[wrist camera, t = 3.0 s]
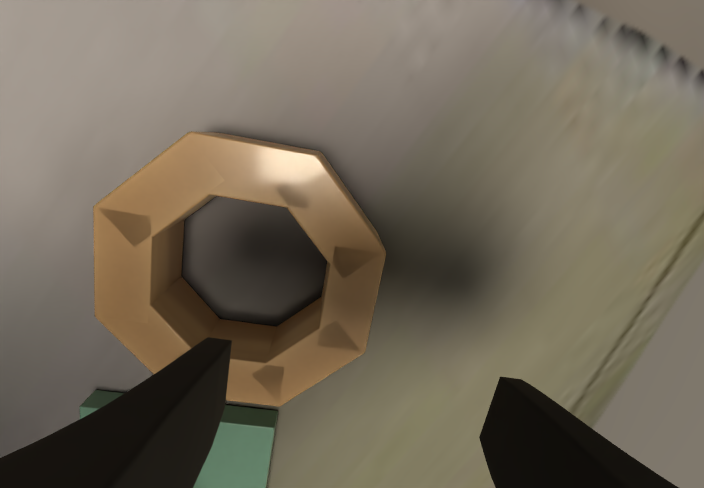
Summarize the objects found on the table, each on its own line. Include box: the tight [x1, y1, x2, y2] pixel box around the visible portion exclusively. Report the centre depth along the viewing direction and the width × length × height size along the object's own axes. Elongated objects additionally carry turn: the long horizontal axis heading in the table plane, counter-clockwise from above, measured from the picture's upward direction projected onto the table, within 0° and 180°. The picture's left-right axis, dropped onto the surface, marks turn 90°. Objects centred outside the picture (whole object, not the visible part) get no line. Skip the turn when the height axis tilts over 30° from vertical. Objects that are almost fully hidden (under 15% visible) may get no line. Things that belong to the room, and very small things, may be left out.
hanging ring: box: [93, 132, 386, 406], centre depth 15 cm, size 10×10×3 cm
